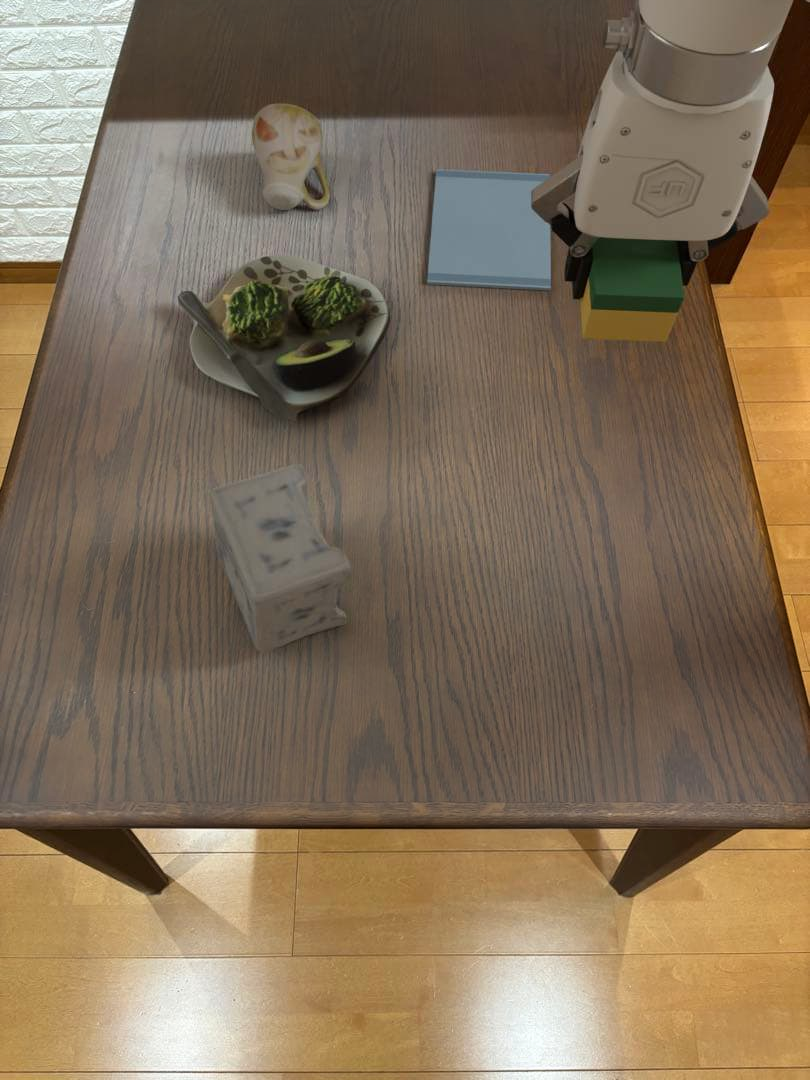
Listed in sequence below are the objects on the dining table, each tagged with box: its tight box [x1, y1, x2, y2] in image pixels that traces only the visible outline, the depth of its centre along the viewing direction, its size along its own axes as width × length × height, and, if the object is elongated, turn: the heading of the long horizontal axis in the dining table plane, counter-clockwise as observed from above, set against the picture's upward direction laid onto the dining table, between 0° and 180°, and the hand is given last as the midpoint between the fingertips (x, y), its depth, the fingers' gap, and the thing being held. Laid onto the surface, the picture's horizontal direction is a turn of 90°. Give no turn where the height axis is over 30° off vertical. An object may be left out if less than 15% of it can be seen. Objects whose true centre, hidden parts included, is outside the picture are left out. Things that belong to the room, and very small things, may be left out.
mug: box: [251, 103, 331, 211], centre depth 84 cm, size 8×10×10 cm
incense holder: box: [208, 462, 352, 654], centre depth 61 cm, size 10×8×10 cm
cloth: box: [426, 168, 552, 292], centre depth 84 cm, size 12×16×1 cm
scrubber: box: [579, 237, 685, 343], centre depth 59 cm, size 9×6×4 cm, turn 177°
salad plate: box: [177, 253, 391, 422], centre depth 75 cm, size 19×18×5 cm
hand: (622, 285), depth 61 cm, fingers closed on scrubber, 6 cm apart
